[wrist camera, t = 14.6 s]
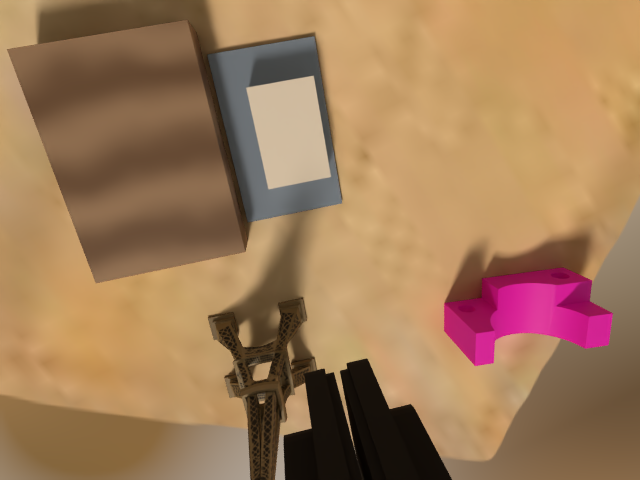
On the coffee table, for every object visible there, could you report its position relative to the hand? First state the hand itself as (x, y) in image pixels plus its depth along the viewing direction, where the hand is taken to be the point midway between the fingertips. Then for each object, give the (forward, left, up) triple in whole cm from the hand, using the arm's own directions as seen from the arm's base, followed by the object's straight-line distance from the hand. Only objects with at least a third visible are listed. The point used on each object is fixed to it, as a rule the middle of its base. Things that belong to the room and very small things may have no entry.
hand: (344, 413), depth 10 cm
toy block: (+17, +23, -32) cm, 42 cm away
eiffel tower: (+16, -6, -31) cm, 36 cm away
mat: (-7, +1, -31) cm, 32 cm away
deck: (-7, -12, -31) cm, 34 cm away
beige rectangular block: (-7, +1, -29) cm, 30 cm away
